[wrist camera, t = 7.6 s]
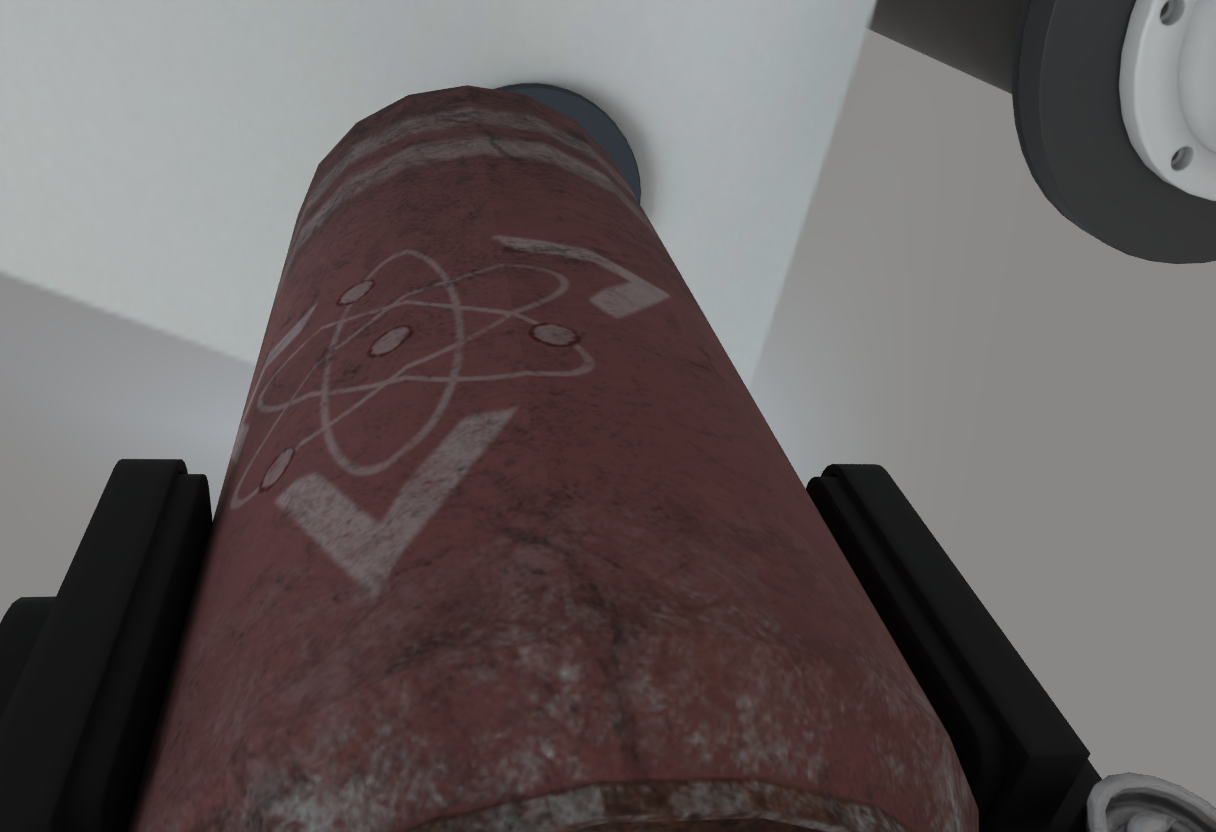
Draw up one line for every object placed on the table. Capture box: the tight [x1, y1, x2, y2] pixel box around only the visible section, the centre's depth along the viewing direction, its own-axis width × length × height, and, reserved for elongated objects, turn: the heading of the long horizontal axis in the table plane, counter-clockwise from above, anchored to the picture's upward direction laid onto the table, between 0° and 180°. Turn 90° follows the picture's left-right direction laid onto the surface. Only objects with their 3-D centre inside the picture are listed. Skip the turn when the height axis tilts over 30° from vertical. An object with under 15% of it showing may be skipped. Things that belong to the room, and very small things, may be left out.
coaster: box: [493, 84, 641, 204], centre depth 33 cm, size 8×8×1 cm
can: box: [127, 85, 979, 832], centre depth 12 cm, size 6×6×14 cm
